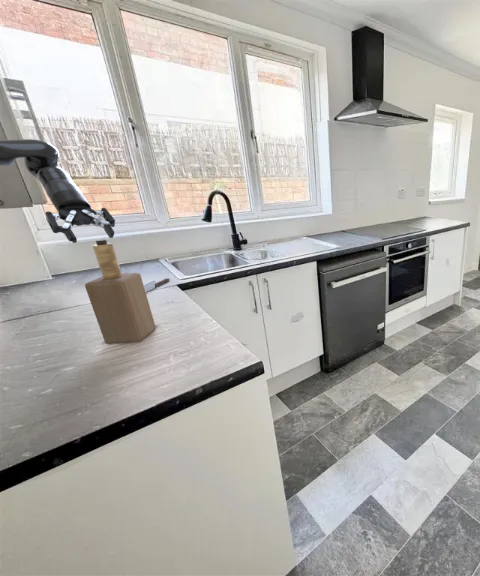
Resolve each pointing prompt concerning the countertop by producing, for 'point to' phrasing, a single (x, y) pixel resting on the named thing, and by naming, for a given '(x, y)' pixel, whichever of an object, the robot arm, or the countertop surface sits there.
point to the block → (121, 308)
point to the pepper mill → (107, 259)
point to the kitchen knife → (154, 284)
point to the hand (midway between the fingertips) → (94, 238)
